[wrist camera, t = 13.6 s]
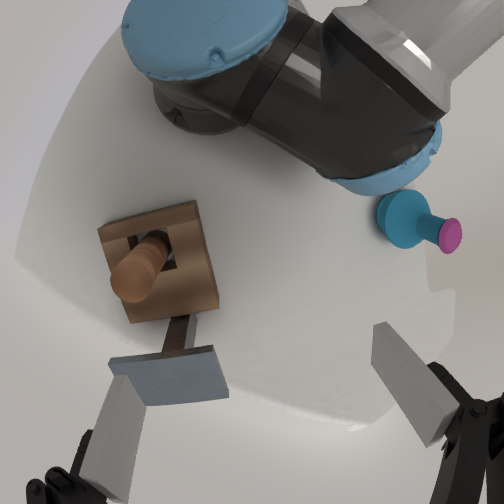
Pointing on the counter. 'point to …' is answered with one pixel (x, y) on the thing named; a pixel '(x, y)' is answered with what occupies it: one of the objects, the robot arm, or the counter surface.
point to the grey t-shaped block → (175, 369)
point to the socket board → (173, 272)
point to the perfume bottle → (416, 222)
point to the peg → (141, 267)
